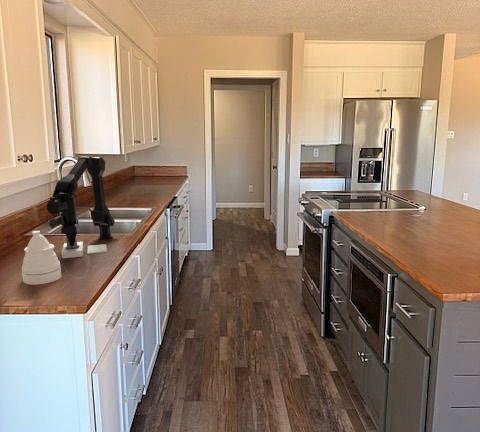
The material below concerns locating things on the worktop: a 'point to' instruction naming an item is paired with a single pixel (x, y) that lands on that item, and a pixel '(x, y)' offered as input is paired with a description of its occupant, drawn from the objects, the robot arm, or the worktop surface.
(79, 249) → the cream window plate
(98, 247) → the green pad
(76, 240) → the grey rectangular block
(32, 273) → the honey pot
